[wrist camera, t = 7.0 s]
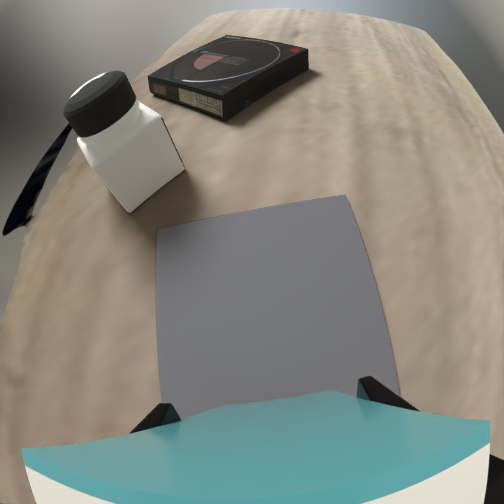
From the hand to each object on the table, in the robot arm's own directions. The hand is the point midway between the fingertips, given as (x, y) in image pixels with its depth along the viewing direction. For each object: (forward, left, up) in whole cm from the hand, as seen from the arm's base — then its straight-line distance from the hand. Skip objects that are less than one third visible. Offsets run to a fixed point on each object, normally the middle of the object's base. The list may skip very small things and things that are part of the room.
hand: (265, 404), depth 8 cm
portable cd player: (+35, +17, -10) cm, 40 cm away
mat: (+1, 0, -10) cm, 10 cm away
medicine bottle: (+15, +19, -10) cm, 26 cm away
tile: (-1, -1, 0) cm, 1 cm away
